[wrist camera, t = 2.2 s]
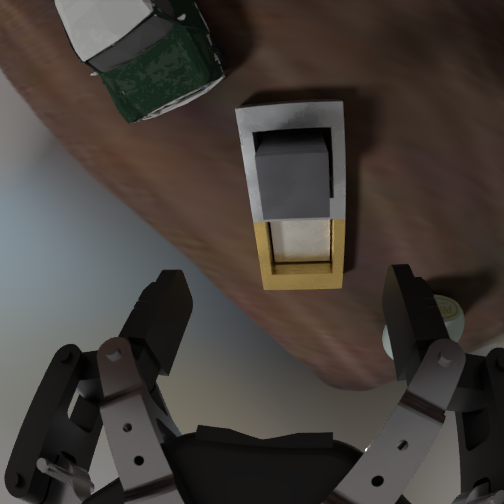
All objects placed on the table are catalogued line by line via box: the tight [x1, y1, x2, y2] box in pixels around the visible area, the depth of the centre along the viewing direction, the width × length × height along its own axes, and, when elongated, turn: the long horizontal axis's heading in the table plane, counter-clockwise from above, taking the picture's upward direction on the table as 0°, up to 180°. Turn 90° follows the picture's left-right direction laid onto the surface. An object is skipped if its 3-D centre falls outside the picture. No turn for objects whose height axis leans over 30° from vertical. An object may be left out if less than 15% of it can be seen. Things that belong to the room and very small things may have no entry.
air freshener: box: [382, 295, 464, 359], centre depth 28 cm, size 11×8×10 cm
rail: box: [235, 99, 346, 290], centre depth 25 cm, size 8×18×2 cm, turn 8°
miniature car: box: [55, 0, 227, 123], centre depth 15 cm, size 9×18×8 cm, turn 22°
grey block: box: [255, 131, 330, 220], centre depth 21 cm, size 5×5×6 cm
